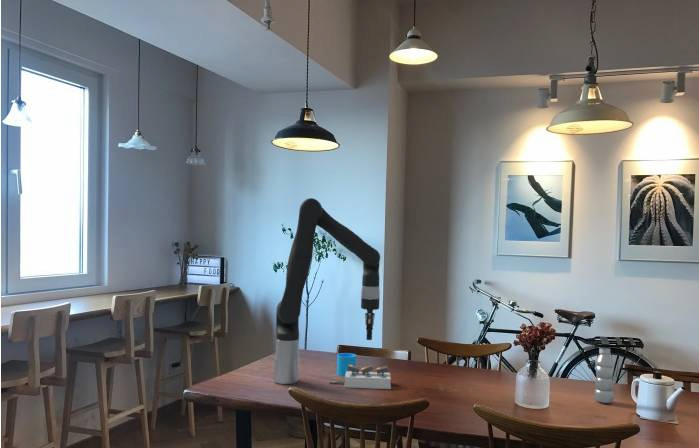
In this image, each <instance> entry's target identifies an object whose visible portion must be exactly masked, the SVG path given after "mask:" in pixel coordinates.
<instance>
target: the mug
mask: <svg viewBox="0 0 699 448" xmlns="http://www.w3.org/2000/svg"><path fill="white" fill-rule="evenodd" d="M336 357H337V358H336V359H337V360H336V362H337V363H336V375H338V376H340V377H345V374H346V371H349V370H348V366H349V364H350V365H353V366H356V367H357V354H355V353H350V352H344V353H343V352H342V353H338V354H337V356H336ZM349 372H352V371H349Z"/></svg>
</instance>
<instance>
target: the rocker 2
mask: <svg viewBox="0 0 699 448" xmlns="http://www.w3.org/2000/svg"><path fill="white" fill-rule="evenodd" d="M372 371H374V366H373V364H369V365H367V366H364V367H362V368H360V372H362V374H364V373H367V372H372Z"/></svg>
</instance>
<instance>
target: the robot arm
mask: <svg viewBox="0 0 699 448" xmlns="http://www.w3.org/2000/svg"><path fill="white" fill-rule="evenodd" d="M298 211H299V212H298V221H297V227H296V232H295V235H294V238H293V241H292V245H291V248H290V252H289V256H288V260H287V265H286V277H285V287H284V290H283V291H284V292H283V296H282V299H281V300H280V301H279V302H278V304H277V306H276V312H275V313H276V314H275V316H276V319H275V335H276V336H275V337H276V338H275V340H276V343H275V358H274V367H273V368H274V370H273V371H274V372H273V373H274V374H273V376H274V377H273V383H274V384H275V383H276V384H281V385H290V384H296V383H298V382H299V354H300V353H299V350H300V348H299V347H300V346H299V345H300V330H299V328H300V327H299V324H300V323H299V321H300V320H299V319H300V316H301V311H302V310H301V309H302V300H303V294H304V289H305V286H306V282H307V279H308V276H309V273H310V268H311V265H312V259H313V255H314V245H315V244H314V243H315V232H316V229H317V227H319V228H321V229H322V230H323V231H325V232H326V233H327V234H328V235H329V236H331V237H332V238H333V239H335V241H337V242H338V243H339V244H340V245H341V246H343V247H344V248H346V250H348V251H349V252H351V253H352V254H354V255H355V256H356V257H357V258H358V259H360V261H362V264H363V265H362V266H363V267H362V269H363V272H362V279H361V281H362V282H361V294H360V297H361V298H360V300H361V301H360V308H361V310H366V312H365V314H364V318H365V326H366V328H365V330H366V341H372V340H373V331H374V328H373V327H374V326H375V325H374V324H375V317H376V315H375V314H376V313H374V312H373V311H377V310H379V309H380V295H381V294H380V292H381V290H380V261H381V253H380V252H379V251H378V250H377V249H375V248H374V247H373V246H371V245H370V244H368V243H367V242H366V241H364V239H362V237H360V236H359V235H358V234H356V233H355V232H354V231H353V230H351V229H350V228H348V227H347V226H345V225H344V224H342V223H340V222H339V221H338V220H336V219H335V218H333V216H331V215H330V214H329V213H328V212H327V211H326V210H325V209H324V208H323V206H322V203H320V201H319V200H317V199H316V198H311V197H310V198H306V199H305V200H303V201H302V202H301V203H300V205H299V209H298Z"/></svg>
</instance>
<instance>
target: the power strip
mask: <svg viewBox="0 0 699 448" xmlns="http://www.w3.org/2000/svg"><path fill="white" fill-rule="evenodd" d="M391 379H392V378H391V373H390V372H384V373H380V374H377V371H375V372H372V371H370V372H367V373H364V374H362V371H359V373H356V372H349V371H346V374H345V376H344V381H336V380H329V384H330V385H344V386H343V388H348V389H373V390H374V389H378V390H380V389H381V390H392V385H391V384H392V383H391Z"/></svg>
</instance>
